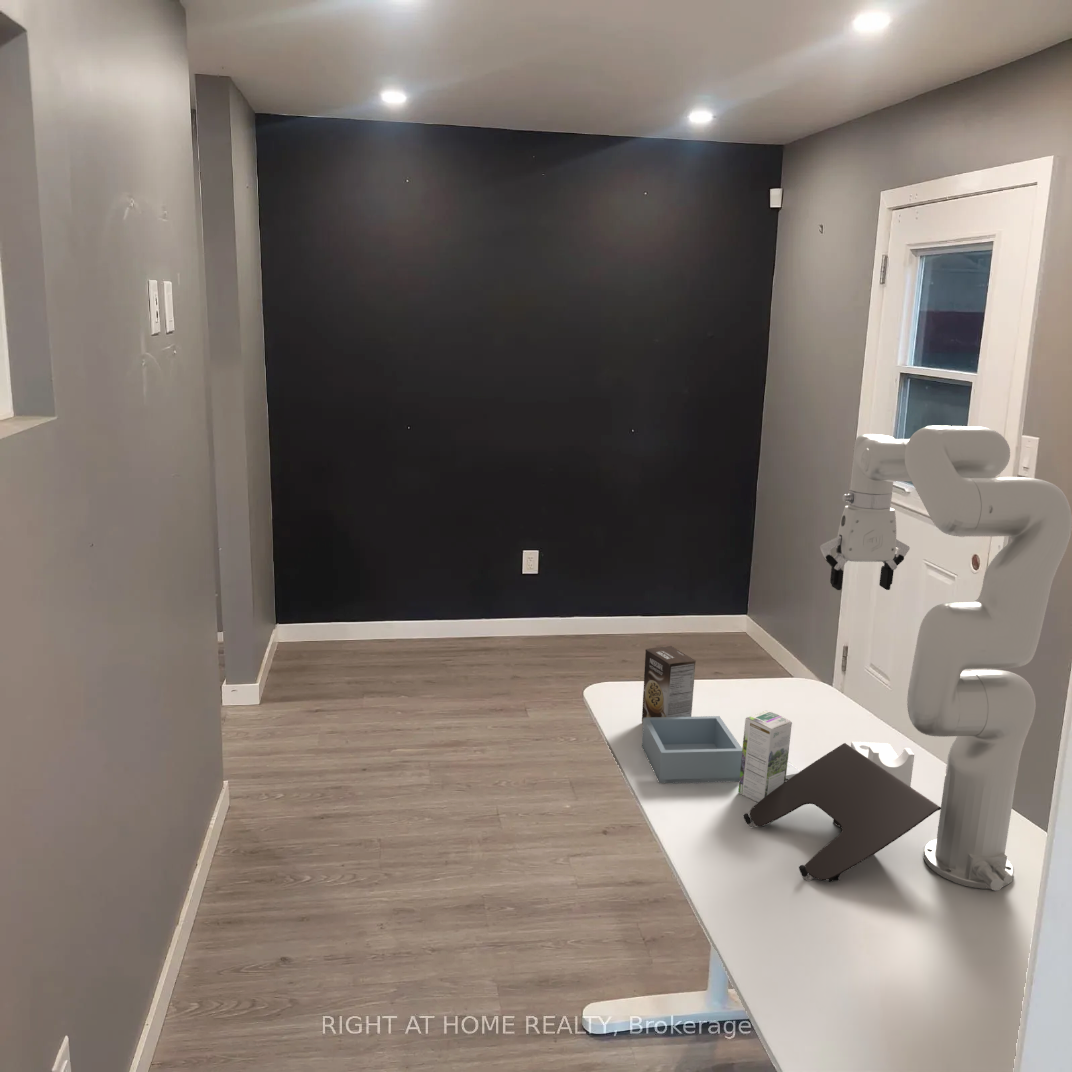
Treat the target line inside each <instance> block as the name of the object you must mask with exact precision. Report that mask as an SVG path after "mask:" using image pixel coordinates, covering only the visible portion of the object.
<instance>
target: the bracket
mask: <svg viewBox="0 0 1072 1072" xmlns="http://www.w3.org/2000/svg"><path fill="white" fill-rule="evenodd" d="M850 744H851V745H850V747H852V748H853V749H855V750H856V751H858V752H859V753H861V754H862V755H864V756H865V757H867V758H868V759H870V760H871V761H873V762H874V763H875V764H877V765H878V766H880V767H881V768H883V769H884V770H886V771H887V772H889V773H890V774H892V775H893V776H895V777H896V778H898V779H899V780H901V781H902V782H904V783H905V784H907V785H908V786H910V787H911V786H912V785H911V783H912V778H913V777H912V776H913V769H914V768H913V767H914V762H915V761H914V760H915V753H914V752H913V751H912V749H911V748H910V747H903V752H901V754H900V755H898V754H897V752H896V751H895V750H894V748H893V747H892V745H891V744H890V742H889V743H887V742H870V741H869V742H868V741H867V742H866V741H851V742H850Z"/></svg>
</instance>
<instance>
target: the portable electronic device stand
mask: <svg viewBox="0 0 1072 1072" xmlns="http://www.w3.org/2000/svg"><path fill="white" fill-rule="evenodd" d="M809 804H810V805H814V806H816V807H818V808H819V809H820V810H822V811H823V812H824V813H825V814H827V815H828V816H829V817H830V818H832V820H833V823H834V824H835V825H836V827H837V826H838V827H839V828H841V832H840V833H839V834H837V836H836V837H834V839H832V840H831V841H830V842H829V843H827V844H826V845H825V846H823V848H822V849H820V850H819V851H818V852H817V853H816V854H815V855H814V856H813V857H812V858H810V859H809V861H808V862H807V863H805V864H801V865H799V866H798V869H799V872H800V875H801V876H802V878H803V880H805V881H807V882H808V881H812V880H814V879H816V880H819V881H828V882H830V883H831V882H833V881H837V882H838V881H840V876H841V875H842V874H843V873H845V872H847V871H848V870H850V869H852V868H854V867H855V866H856V865H859V864H860V863H862V862H864V861H866V860H867V859H869V858H871V857H872V856H874V855H875V854H877V853H878V852H880V851H881V850H883V849H884V848H886V847H887V846H889V845H890V844H892V843H893V842H895V841H897V840H898V839H900V838H901V837H903V835H906V833H908V832H909V831H911V830H913V828H915V827H917V826H918V825H919V824H921V823H922V822H923V821H925V820H926V819H928V818H929V817H930V816H932V815H934V814H935V813H936V812H938V811H940V810H941V806H939V805H938V804H937V803H935V802H934V801H932V800H931V799H929V798H928V797H926V796H924V795H923V794H922V793H920V792H918V791H917V790H915V789H914V788H913V787H911V786H908V785H907V784H905V783H904V782H902V781H901V780H899V779H898V778H896V777H895V776H893V775H892V774H890V773H889V772H887V771H886V770H884V769H883V768H881V767H880V766H878V765H877V764H875V763H874V762H873V761H871V760H870V759H868V758H867V757H865V756H864V755H862V754H861V753H859V752H858V751H856V750H855V749H853V748H852V747H851V745H849V744H847V743H846V742H844V743H841V744H840V745H839V746H837V747H836V748H834V749H832V750H830V751H829V752H827V753H826V754H824V755H823V756H822V757H820V758H818V759H817V760H815V761H814V762H812V763H810V764H809V765H808V766H806V767H805V768H803V769H802V770H801V771H800V772H799V773H797V774H796V775H794V776H793V777H792V778H790V779H789V780H786V781H785V782H784V783H783V784H782V785H780V786H779V787H778V788H776V789H775V790H774V791H772V792H771V793H770V794H768V795H767V796H766V797H764V798H763V799H762V800H761V801H759V802H756V803H755V805H754V806H752V807H751V809H750V810H749V812H748V813H746V812H744V814H743V816H742V817H743V819H744V821H745V823H746V825H747V826H748V827H749V828H756V827H758V828H762V827H764V826H767V825H768V824H771V823H772V822H774V821H777V820H779V819H781V818H782V817H785V816H786V815H788V814H790V813H792V812H794V811H795V810H797V809H799V808H800V807H803V806H805V805H809Z"/></svg>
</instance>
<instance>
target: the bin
mask: <svg viewBox="0 0 1072 1072" xmlns="http://www.w3.org/2000/svg"><path fill="white" fill-rule="evenodd" d="M641 733H642V735H641V747H642V750H643V752H644V754H645V755H646V758H648V759H647V760H649V761H648V762H649V765H650V764H651V765H650V766H652V767H651V769H652V768H653V769H652V771H653V770H654V771H653V773H654V775H655V777H656V779H658V780H657V781H659V782H658V784H659V783H673V784H702V783H704V784H705V783H706V784H709V783H736V782H738V783H739V779H740V769H741V759H742V747H743V746H741V745H740V743H739V742H738V741H737V739H736V738H735V736H734V735H733V733H732V732H731V730H730V729H729V728H728V726H727V725H726V723H725V721H724V720H723V719H722V718H721V717H720V715H713V716H712V715H711V716H710V715H707V716H705V715H704V716H702V715H701V716H691V717H648V718H643V723H642V732H641Z"/></svg>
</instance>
